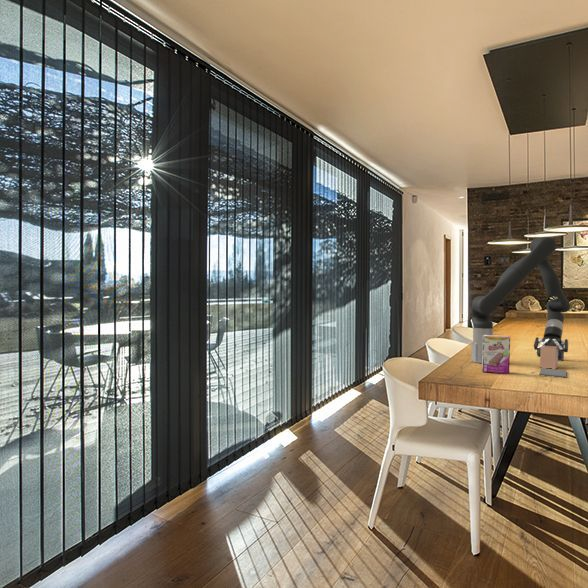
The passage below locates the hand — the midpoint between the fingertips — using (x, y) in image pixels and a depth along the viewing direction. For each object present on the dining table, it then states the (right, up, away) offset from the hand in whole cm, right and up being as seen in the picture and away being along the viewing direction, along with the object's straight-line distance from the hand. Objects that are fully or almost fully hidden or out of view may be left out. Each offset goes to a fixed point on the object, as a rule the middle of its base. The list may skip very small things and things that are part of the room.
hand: (549, 356), depth 225 cm
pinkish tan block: (0, -5, 0) cm, 5 cm away
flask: (+15, -5, +24) cm, 29 cm away
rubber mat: (-6, -6, -15) cm, 17 cm away
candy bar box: (-30, -6, -12) cm, 33 cm away
